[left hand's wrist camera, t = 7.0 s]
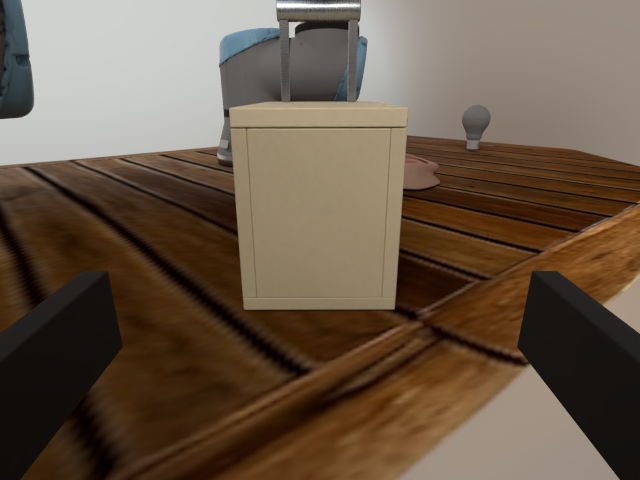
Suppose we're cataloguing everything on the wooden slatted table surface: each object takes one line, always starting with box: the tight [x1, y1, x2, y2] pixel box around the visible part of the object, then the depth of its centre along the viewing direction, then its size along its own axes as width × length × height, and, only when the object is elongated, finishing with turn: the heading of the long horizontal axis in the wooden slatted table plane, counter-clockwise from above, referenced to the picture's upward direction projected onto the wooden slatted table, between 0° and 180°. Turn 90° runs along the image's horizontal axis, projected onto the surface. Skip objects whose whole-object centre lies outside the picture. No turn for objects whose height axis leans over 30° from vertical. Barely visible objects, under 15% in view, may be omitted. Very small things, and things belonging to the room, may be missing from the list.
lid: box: [229, 0, 408, 128], centre depth 28 cm, size 17×10×9 cm, turn 0°
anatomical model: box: [403, 154, 440, 190], centre depth 62 cm, size 13×4×12 cm
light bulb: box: [462, 105, 490, 151], centre depth 93 cm, size 6×6×10 cm
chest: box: [230, 127, 407, 310], centre depth 32 cm, size 17×10×11 cm, turn 0°
